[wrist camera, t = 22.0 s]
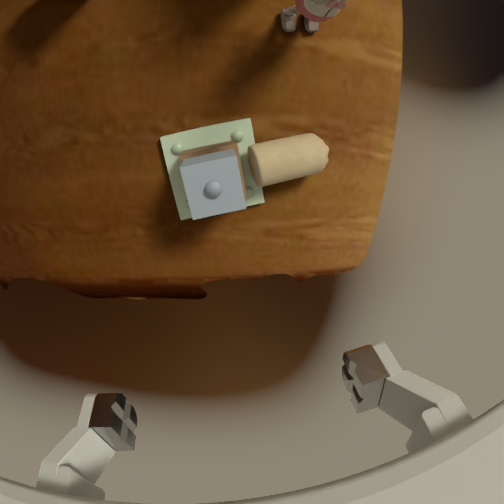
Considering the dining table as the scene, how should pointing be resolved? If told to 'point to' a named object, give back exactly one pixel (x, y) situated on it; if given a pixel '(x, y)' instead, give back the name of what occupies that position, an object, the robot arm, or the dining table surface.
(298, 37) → the dining table surface
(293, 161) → the candle
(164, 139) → the plate
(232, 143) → the base brick
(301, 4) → the figurine
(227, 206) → the blue brick
